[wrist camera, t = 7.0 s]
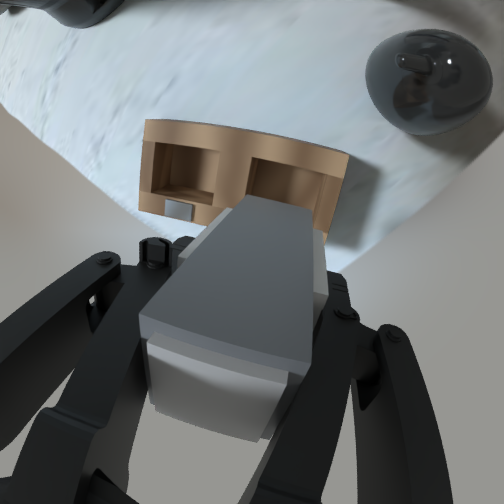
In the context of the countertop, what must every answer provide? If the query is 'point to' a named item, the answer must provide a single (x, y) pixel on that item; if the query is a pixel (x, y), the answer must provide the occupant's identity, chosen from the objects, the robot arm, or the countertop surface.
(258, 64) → the countertop surface
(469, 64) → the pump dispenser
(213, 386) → the plug
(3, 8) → the bowl
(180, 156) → the socket block
